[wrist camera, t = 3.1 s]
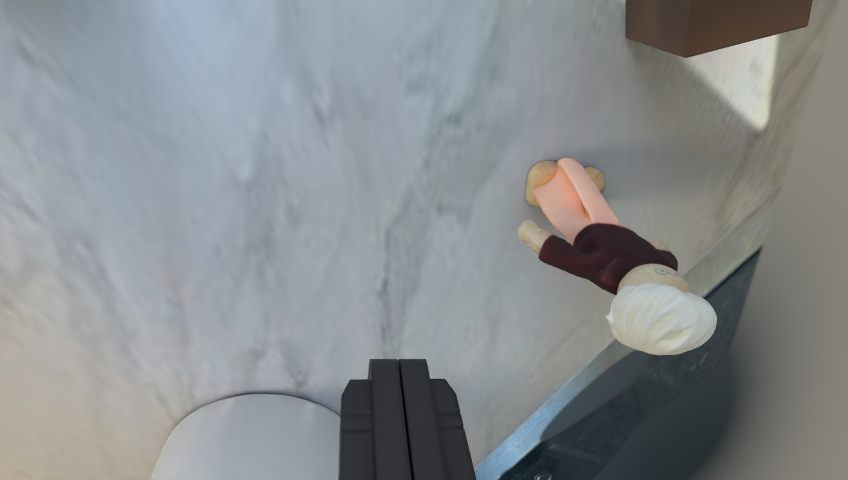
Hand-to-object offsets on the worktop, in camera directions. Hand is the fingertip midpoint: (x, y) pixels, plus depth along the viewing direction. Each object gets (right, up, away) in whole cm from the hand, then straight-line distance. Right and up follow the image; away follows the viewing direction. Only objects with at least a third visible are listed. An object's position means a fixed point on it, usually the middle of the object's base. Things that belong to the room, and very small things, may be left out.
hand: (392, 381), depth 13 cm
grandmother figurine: (+8, +7, +14) cm, 18 cm away
